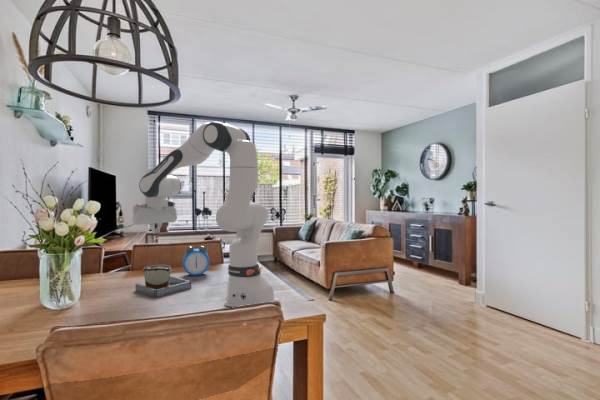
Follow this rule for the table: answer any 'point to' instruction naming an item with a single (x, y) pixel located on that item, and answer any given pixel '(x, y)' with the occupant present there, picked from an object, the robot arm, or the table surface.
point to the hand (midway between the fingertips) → (155, 232)
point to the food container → (157, 276)
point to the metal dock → (180, 285)
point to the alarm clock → (196, 260)
